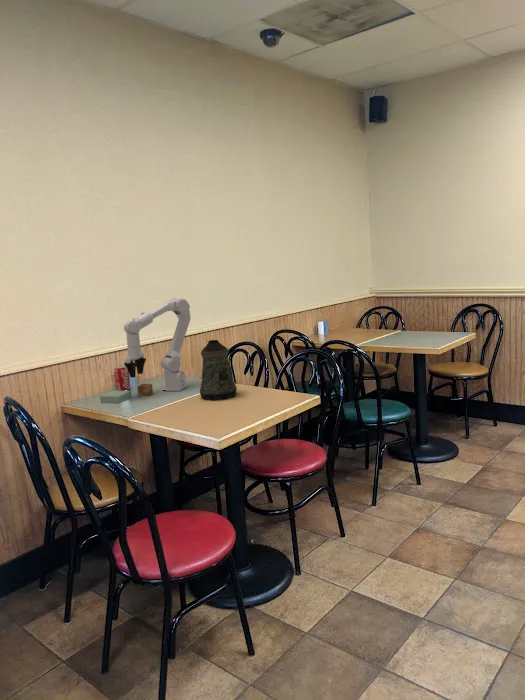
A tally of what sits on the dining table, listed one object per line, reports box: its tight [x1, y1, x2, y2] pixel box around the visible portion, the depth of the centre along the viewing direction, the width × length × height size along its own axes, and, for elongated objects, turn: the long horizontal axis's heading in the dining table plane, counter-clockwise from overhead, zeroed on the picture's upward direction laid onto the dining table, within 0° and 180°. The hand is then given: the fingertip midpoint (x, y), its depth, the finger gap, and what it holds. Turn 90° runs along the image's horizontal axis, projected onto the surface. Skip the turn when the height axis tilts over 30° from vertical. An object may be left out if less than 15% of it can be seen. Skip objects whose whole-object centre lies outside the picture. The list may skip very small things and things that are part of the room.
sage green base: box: [99, 390, 133, 404], centre depth 256 cm, size 10×10×3 cm
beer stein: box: [199, 339, 238, 402], centre depth 248 cm, size 16×19×25 cm
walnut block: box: [136, 383, 154, 397], centre depth 261 cm, size 5×5×5 cm
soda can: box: [113, 365, 131, 391], centre depth 274 cm, size 7×7×12 cm
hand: (136, 375), depth 258 cm, fingers open, 7 cm apart
